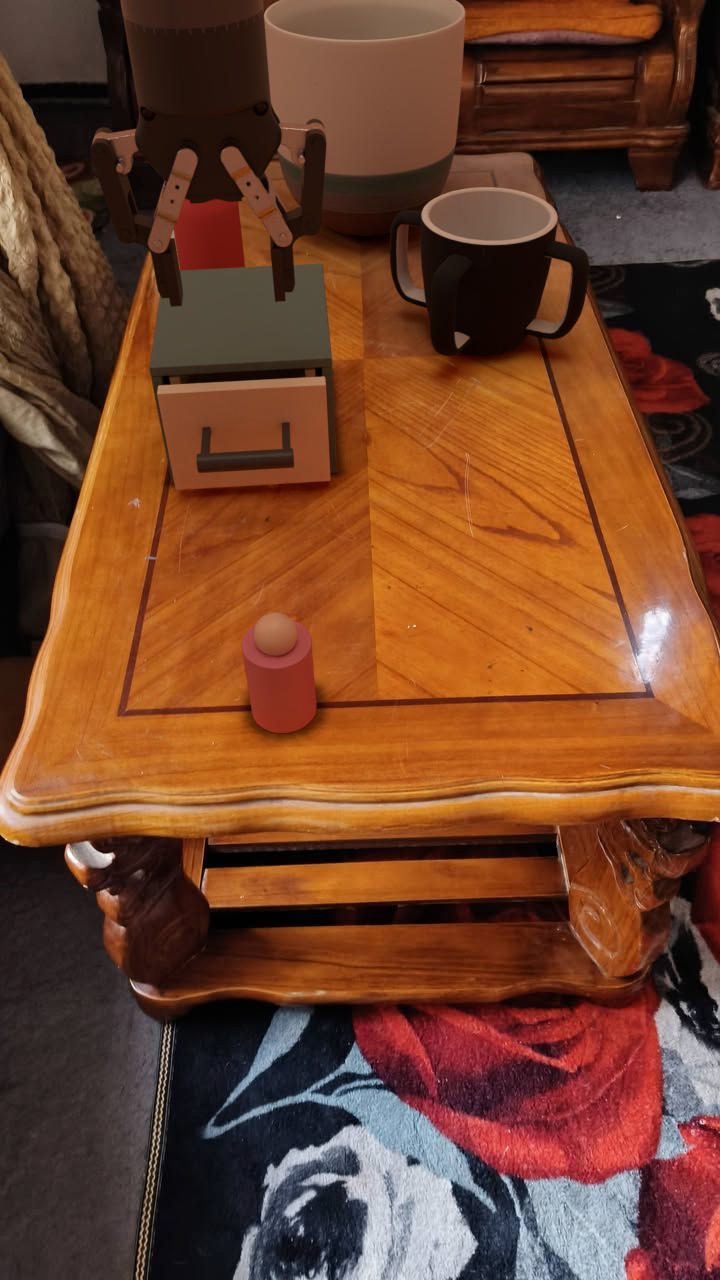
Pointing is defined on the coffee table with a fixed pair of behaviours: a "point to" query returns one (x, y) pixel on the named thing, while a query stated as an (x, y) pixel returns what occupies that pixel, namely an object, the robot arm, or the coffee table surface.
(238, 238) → the beer can
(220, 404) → the drawer
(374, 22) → the planter
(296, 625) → the doll
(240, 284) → the cabinet
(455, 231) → the mug
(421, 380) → the coffee table surface
